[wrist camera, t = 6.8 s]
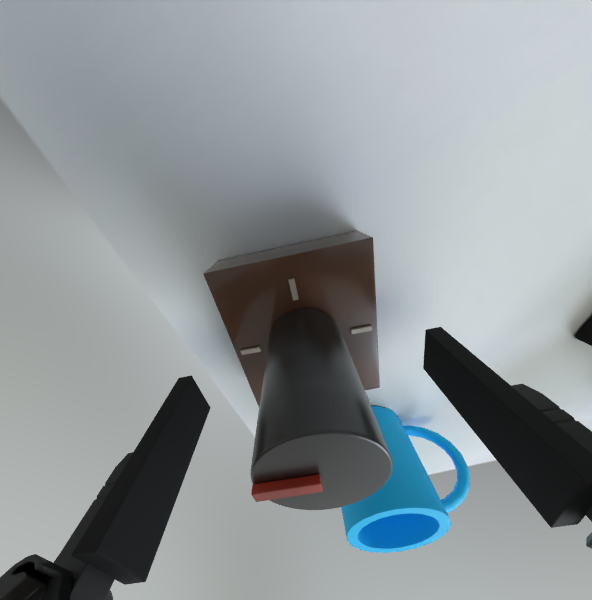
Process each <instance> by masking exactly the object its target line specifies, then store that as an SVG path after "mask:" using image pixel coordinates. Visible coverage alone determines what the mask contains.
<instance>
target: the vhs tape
mask: <svg viewBox="0 0 592 600" xmlns="http://www.w3.org/2000/svg"><path fill="white" fill-rule="evenodd" d="M575 338H577V339H579V340H581V341H583V342H585V343H587V344H589V345H591V346H592V318H591V319H590V320H589V321H588V322H587V323H586V324H585V326H584V327H583V328H582V329H581V330H580V331H579V332H578V334H577V335H576V336H575Z"/></svg>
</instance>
